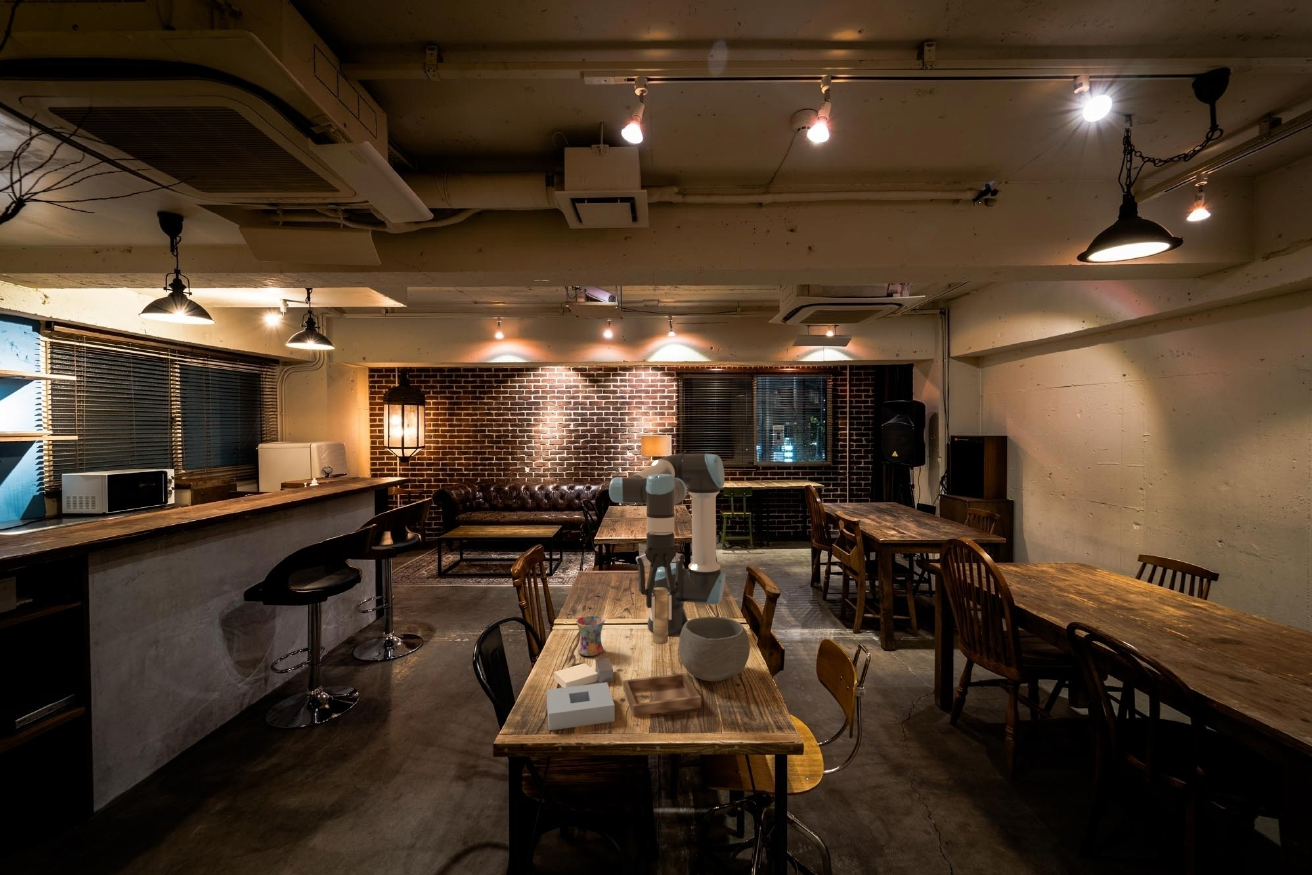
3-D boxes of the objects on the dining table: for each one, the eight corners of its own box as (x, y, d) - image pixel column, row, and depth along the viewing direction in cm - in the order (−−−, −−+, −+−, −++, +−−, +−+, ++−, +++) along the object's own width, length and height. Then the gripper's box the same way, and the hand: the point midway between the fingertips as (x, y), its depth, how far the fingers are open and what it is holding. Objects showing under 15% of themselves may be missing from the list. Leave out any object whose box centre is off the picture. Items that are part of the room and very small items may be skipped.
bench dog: (608, 672, 157) (608, 657, 157) (613, 685, 149) (613, 669, 149) (595, 674, 156) (595, 659, 156) (599, 686, 148) (599, 671, 148)
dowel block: (607, 700, 141) (607, 682, 141) (614, 724, 129) (614, 704, 129) (546, 708, 137) (546, 689, 137) (548, 734, 125) (548, 713, 125)
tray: (684, 684, 149) (684, 672, 149) (700, 710, 136) (700, 697, 136) (623, 692, 145) (623, 680, 145) (633, 719, 131) (633, 706, 131)
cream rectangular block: (585, 674, 157) (585, 662, 157) (597, 685, 150) (597, 673, 150) (554, 683, 151) (554, 671, 151) (566, 695, 144) (566, 682, 144)
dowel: (665, 637, 142) (665, 586, 142) (669, 643, 138) (669, 591, 138) (651, 638, 141) (651, 587, 141) (655, 644, 137) (655, 592, 137)
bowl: (751, 664, 163) (751, 616, 162) (747, 697, 142) (748, 643, 142) (685, 657, 167) (684, 611, 167) (672, 689, 147) (672, 636, 147)
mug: (600, 659, 166) (600, 626, 166) (572, 657, 168) (572, 624, 167) (609, 644, 178) (609, 613, 178) (583, 642, 179) (583, 611, 179)
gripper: (686, 527, 145) (686, 611, 146) (626, 530, 141) (626, 616, 141) (694, 533, 138) (694, 620, 138) (632, 536, 134) (632, 626, 134)
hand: (660, 618), depth 140 cm, fingers closed on dowel, 4 cm apart
